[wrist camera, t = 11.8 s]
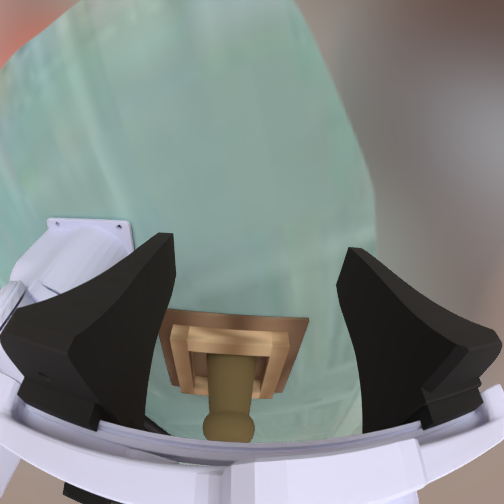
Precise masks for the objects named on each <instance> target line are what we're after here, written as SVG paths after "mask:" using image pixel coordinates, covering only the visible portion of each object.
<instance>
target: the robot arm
mask: <svg viewBox="0 0 504 504" xmlns="http://www.w3.org/2000/svg"><path fill="white" fill-rule="evenodd" d="M58 223H59V224H58ZM118 225H121V227H122V228H120V227H119V226H118ZM47 226H48V230H47V231H46V232H45V233H44V234H43V235H42V236H41V237H40V238H39V239H38V240H37V241H36V242H35V243H34V244H33V245H32V246H31V247H30V248H29V249H28V250H27V251H26V252H25V253H24V254H23V256H22V257H21V258H20V259H19V260H18V261H17V263H16V264H15V266H14V268H13V270H12V273H11V276H10V281H9V282H8V283H7V284H6V285H5V286H4V287H3V288H2V289H1V290H0V500H1V497H2V495H3V493H4V491H5V489H6V487H7V485H8V483H9V481H10V479H11V477H12V475H13V473H14V471H15V470H16V468H17V466H18V464H19V462H20V460H21V459H24V460H25V461H27V462H29V463H30V464H33V465H34V466H36V467H37V468H39V469H41V470H43V471H45V472H47V473H49V474H51V475H53V476H55V477H57V478H59V479H61V480H63V481H65V482H67V483H69V484H72V485H74V486H76V487H79V488H81V489H84V490H86V491H89V492H91V493H94V494H97V495H99V496H102V497H105V498H108V499H111V500H114V501H117V502H120V503H124V504H419V501H418V495H417V490H419V489H421V488H423V487H425V485H426V484H428V483H430V482H432V481H434V480H437V479H439V478H441V477H443V476H445V475H446V474H448V473H450V472H452V471H454V470H456V469H458V468H460V467H462V466H463V465H465V464H467V463H468V462H470V461H472V460H473V459H475V458H477V457H478V456H480V455H482V454H483V453H485V452H486V451H488V450H489V449H491V448H492V447H494V446H495V445H496V444H498V443H499V442H501V441H502V440H503V439H504V392H503V389H502V387H501V385H500V384H497V385H495V386H492V387H490V388H488V389H486V390H484V391H483V392H481V393H480V392H479V390H478V387H480V386H481V381H480V379H479V377H480V376H481V375H482V374H483V373H484V372H485V370H487V368H488V367H489V366H490V365H491V364H492V363H493V362H494V360H495V359H496V358H497V356H498V355H499V353H500V351H501V348H502V342H501V340H500V339H499V337H498V335H497V334H496V333H495V331H494V330H492V329H489V328H487V327H484V326H481V325H479V324H476V323H473V322H471V321H469V320H467V319H464V318H462V317H460V316H458V315H456V314H454V313H452V312H450V311H448V310H446V309H445V308H443V307H441V306H439V305H438V304H436V303H434V302H433V301H431V300H430V299H428V298H427V297H425V296H424V295H422V294H421V293H419V292H418V291H416V290H415V289H414V288H412V287H411V286H410V285H408V284H407V283H406V282H404V281H403V280H402V279H401V278H399V277H398V276H397V275H396V274H394V273H393V272H392V271H391V270H389V269H388V268H387V267H386V266H385V265H383V264H382V263H381V262H380V261H378V260H377V259H376V258H375V257H373V256H372V255H371V254H369V253H368V252H367V251H365V250H363V249H362V248H353V247H348V251H347V254H346V257H345V260H344V263H343V266H342V269H341V272H340V275H339V278H338V281H337V284H336V287H337V293H338V298H339V303H340V307H341V310H342V313H343V316H344V319H345V322H346V325H347V328H348V331H349V334H350V337H351V340H352V344H353V347H354V351H355V354H356V360H357V365H358V371H359V379H360V387H361V397H362V420H363V426H362V434H359V435H353V436H347V437H340V438H332V439H324V440H314V441H301V442H282V443H240V442H221V441H209V440H198V439H190V438H182V437H175V436H169V435H163V434H157V433H152V432H147V431H144V418H145V405H146V396H147V388H148V381H149V374H150V368H151V362H152V357H153V352H154V347H155V343H156V340H157V336H158V333H159V330H160V327H161V324H162V321H163V319H164V316H165V313H166V310H167V307H168V304H169V301H170V299H171V296H172V292H173V287H174V282H175V278H176V266H175V252H174V237H173V233H157V234H156V235H154V236H153V237H152V238H150V239H149V240H148V241H146V242H145V243H144V244H142V245H141V246H140V247H138V248H137V249H136V250H134V244H133V238H132V230H131V225H130V223H129V222H128V221H125V220H103V219H77V218H49V219H48V220H47ZM178 462H183V463H191V464H199V465H210V466H198V465H182V464H179V463H178Z"/></svg>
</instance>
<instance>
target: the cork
mask: <svg viewBox="0 0 504 504" xmlns="http://www.w3.org/2000/svg"><path fill="white" fill-rule="evenodd" d="M256 363H257V356H247V355H230V354H216V353H207V374H208V394H209V411H210V413H209V414H208V415H207V416H206V418H205V420H204V422H203V432H204V436H205V437H206V439H207V440H209V441H221V442H240V443H248V442H250V441H251V439H252V438H253V435H254V431H255V425H254V422H253V420H252V419H251V417H250V416H249V412H250V405H251V398H252V391H253V385H254V378H255V371H256Z"/></svg>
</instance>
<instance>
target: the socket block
mask: <svg viewBox="0 0 504 504" xmlns="http://www.w3.org/2000/svg"><path fill="white" fill-rule="evenodd" d="M308 323H309V318H292V317H267V316H249V315H233V314H220V313H207V312H196V311H186V310H176V309H167V310H166V313H165V316H164V319H163V321H162V324H161V327H160V330H159V336H160V341H161V345H162V349H163V353H164V357H165V361H166V365H167V369H168V372H169V376H170V380H171V383H172V385H174V386H180V388H181V392H182V393H188V394H197V395H207V396H209V394H208V374H207V353H216V354H230V355H247V356H257V363H256V371H255V378H254V385H253V391H252V398H260V399H272V397H273V394H274V393H282V392H283V389H284V387H285V384H286V382H287V379H288V377H289V374H290V372H291V369H292V367H293V364H294V361H295V359H296V356H297V353H298V351H299V348H300V345H301V342H302V340H303V337H304V334H305V331H306V328H307V326H308Z"/></svg>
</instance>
